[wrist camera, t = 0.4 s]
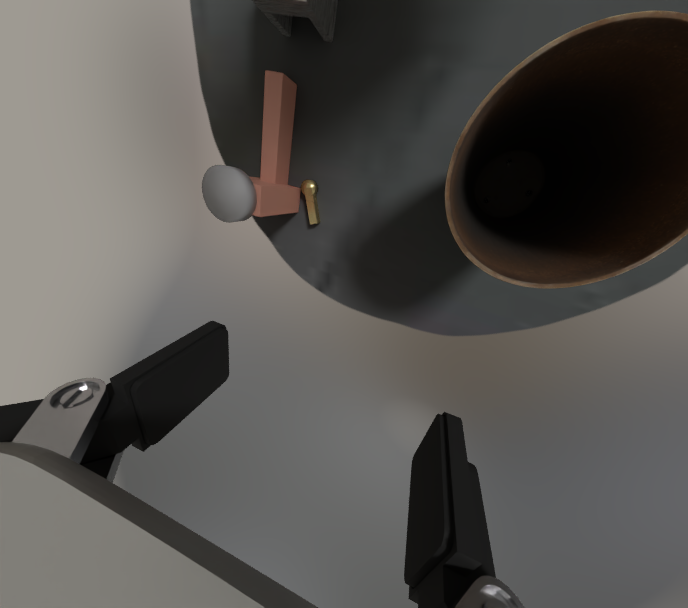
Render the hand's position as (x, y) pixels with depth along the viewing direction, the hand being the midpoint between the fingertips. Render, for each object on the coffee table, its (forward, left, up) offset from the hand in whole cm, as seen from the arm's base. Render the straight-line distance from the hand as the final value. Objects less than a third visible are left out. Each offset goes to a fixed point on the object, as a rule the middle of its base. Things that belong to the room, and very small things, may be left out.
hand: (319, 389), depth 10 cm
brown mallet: (-9, -20, -30) cm, 37 cm away
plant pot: (-11, +10, -30) cm, 33 cm away
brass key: (-3, -14, -30) cm, 33 cm away
